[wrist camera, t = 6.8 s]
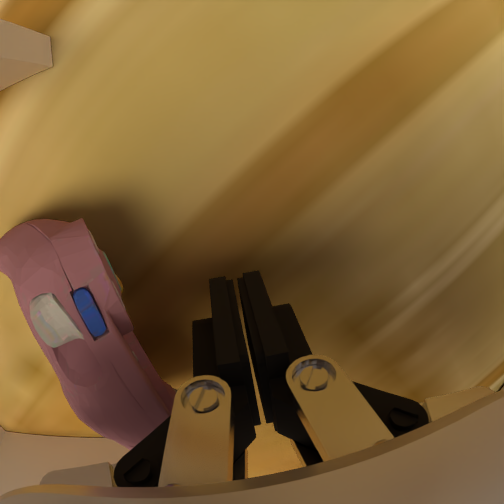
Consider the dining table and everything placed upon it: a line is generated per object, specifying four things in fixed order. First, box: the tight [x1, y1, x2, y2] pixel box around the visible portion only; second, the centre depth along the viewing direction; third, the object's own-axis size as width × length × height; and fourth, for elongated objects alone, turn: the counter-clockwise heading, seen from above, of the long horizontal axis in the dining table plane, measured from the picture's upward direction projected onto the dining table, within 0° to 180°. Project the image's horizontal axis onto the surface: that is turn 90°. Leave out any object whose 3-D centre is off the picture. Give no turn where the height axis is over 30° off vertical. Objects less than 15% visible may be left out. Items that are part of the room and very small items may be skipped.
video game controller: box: [0, 218, 182, 450], centre depth 10 cm, size 10×5×7 cm, turn 12°
